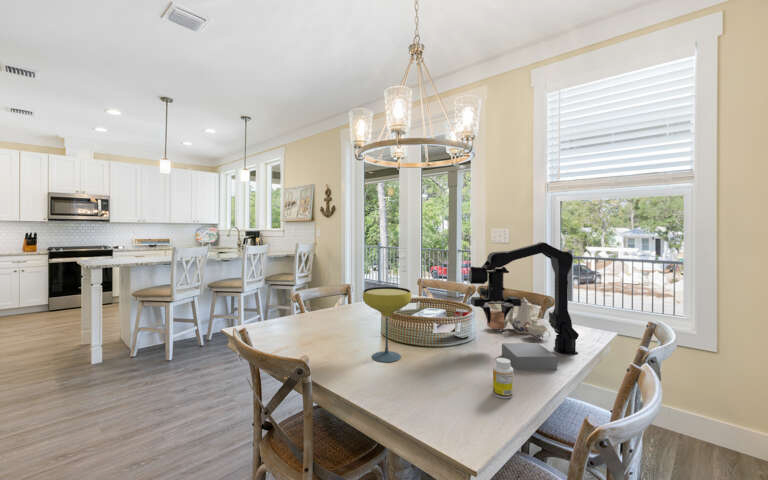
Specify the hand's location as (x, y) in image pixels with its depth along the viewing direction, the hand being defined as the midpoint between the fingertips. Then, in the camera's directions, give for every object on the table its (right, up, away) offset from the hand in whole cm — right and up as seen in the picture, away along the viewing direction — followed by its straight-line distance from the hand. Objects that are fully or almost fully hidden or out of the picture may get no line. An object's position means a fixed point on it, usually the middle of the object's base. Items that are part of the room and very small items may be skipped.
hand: (495, 323), depth 138 cm
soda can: (-10, -10, +17) cm, 22 cm away
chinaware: (+20, -11, +24) cm, 33 cm away
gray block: (+8, -12, -12) cm, 19 cm away
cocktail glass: (-43, -11, -8) cm, 46 cm away
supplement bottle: (-10, -12, -37) cm, 40 cm away
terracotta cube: (0, -2, 0) cm, 2 cm away
